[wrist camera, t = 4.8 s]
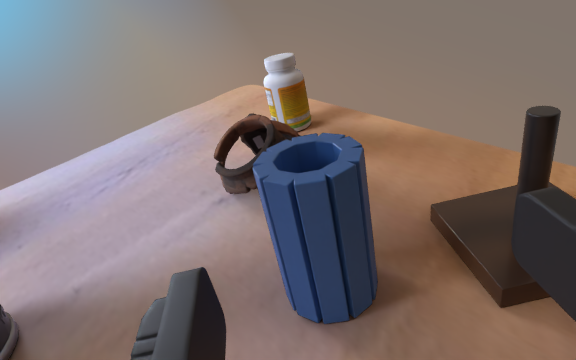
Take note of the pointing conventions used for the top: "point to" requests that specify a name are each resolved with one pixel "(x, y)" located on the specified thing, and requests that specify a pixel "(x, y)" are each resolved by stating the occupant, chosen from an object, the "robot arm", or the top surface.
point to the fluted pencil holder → (320, 224)
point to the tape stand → (502, 216)
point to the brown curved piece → (257, 137)
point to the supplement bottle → (286, 92)
